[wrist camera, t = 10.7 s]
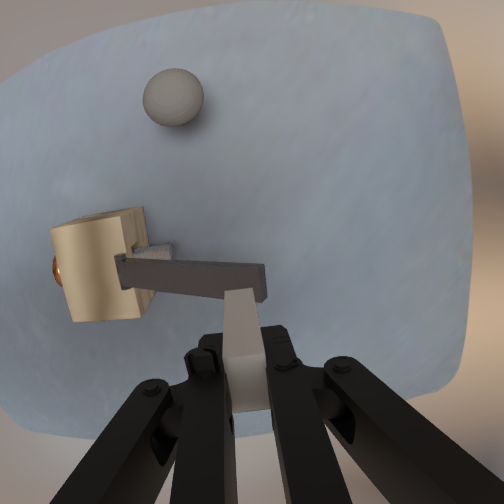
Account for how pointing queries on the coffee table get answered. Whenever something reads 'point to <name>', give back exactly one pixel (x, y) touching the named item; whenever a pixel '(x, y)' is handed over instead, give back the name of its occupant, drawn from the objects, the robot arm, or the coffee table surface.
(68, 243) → the block
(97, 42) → the coffee table surface
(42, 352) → the coffee table surface
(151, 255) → the pin
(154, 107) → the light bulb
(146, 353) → the coffee table surface
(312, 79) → the coffee table surface
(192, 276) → the bar
